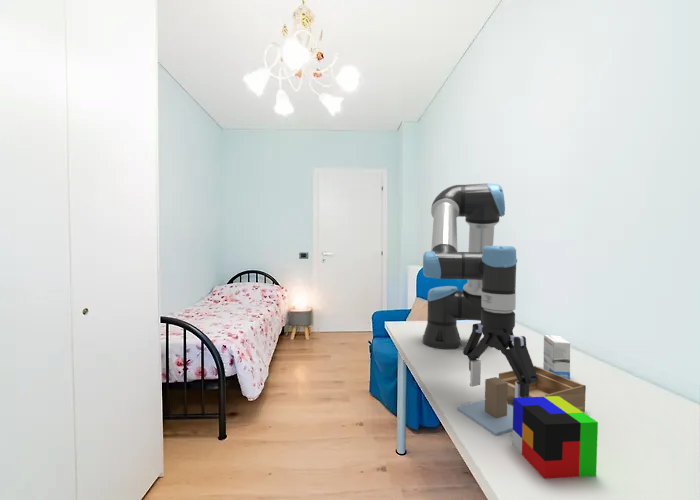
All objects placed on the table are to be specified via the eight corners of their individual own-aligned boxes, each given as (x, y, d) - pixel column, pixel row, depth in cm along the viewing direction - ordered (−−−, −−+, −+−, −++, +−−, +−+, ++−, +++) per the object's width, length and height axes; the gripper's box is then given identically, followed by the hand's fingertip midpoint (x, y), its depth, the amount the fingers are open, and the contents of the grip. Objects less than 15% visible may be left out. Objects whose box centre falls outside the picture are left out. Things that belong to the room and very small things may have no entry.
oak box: (498, 396, 90) (498, 373, 90) (534, 388, 96) (534, 365, 96) (546, 423, 77) (547, 395, 77) (584, 411, 83) (585, 385, 83)
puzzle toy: (512, 444, 69) (513, 397, 69) (557, 442, 70) (558, 396, 70) (544, 479, 59) (545, 424, 59) (596, 476, 60) (597, 422, 60)
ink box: (570, 381, 101) (571, 343, 100) (552, 379, 102) (553, 341, 101) (558, 370, 109) (559, 335, 109) (542, 369, 110) (543, 334, 110)
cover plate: (456, 410, 84) (457, 375, 83) (495, 400, 89) (496, 367, 89) (495, 437, 72) (496, 397, 72) (537, 424, 77) (538, 386, 77)
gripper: (450, 301, 90) (449, 379, 90) (533, 323, 67) (531, 426, 67) (471, 299, 93) (470, 374, 93) (558, 320, 70) (556, 419, 70)
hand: (496, 396), depth 80 cm, fingers open, 13 cm apart
